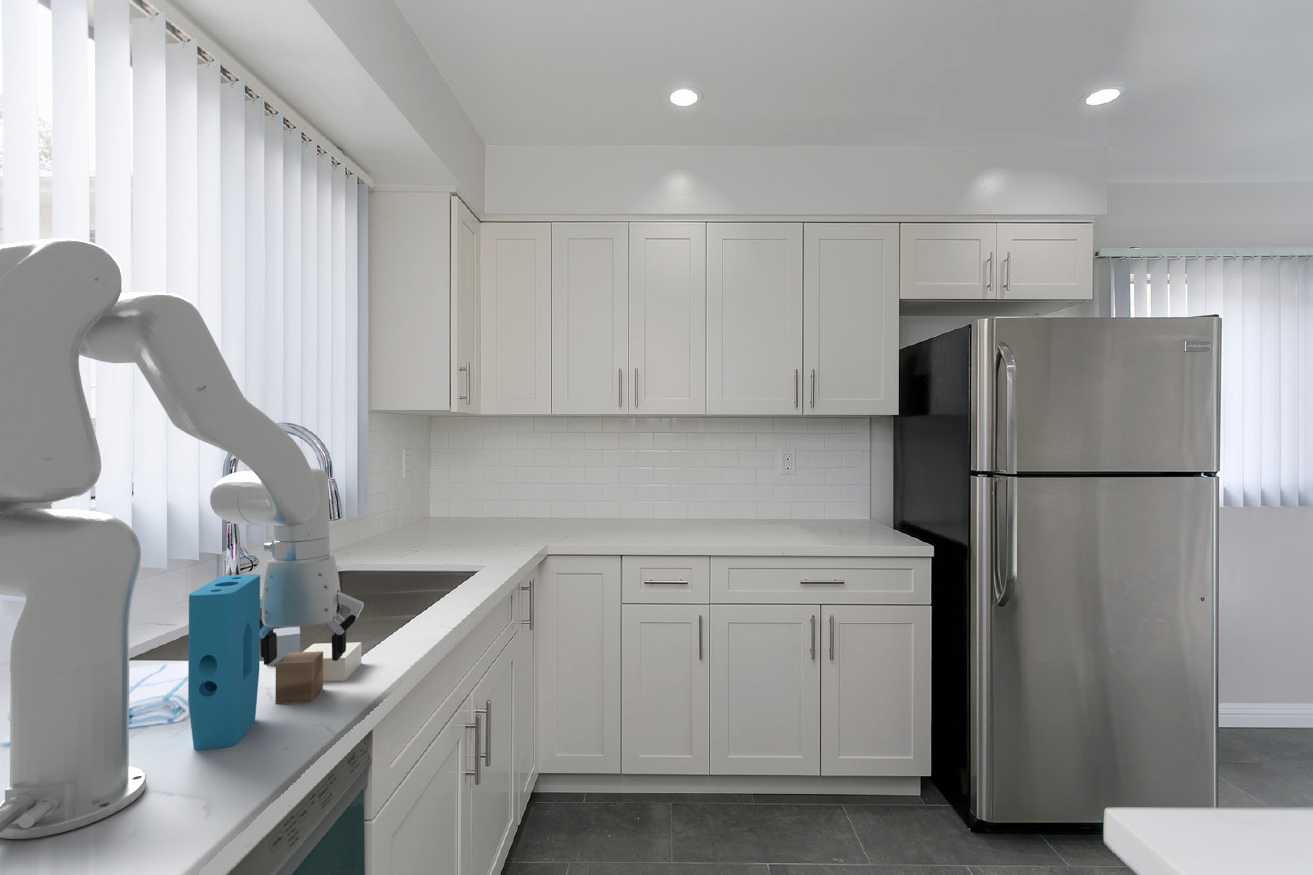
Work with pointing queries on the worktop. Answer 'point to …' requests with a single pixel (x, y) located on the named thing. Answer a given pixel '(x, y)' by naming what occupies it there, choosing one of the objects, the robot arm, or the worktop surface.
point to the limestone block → (344, 664)
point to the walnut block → (299, 677)
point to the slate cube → (286, 642)
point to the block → (223, 660)
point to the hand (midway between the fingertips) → (304, 659)
